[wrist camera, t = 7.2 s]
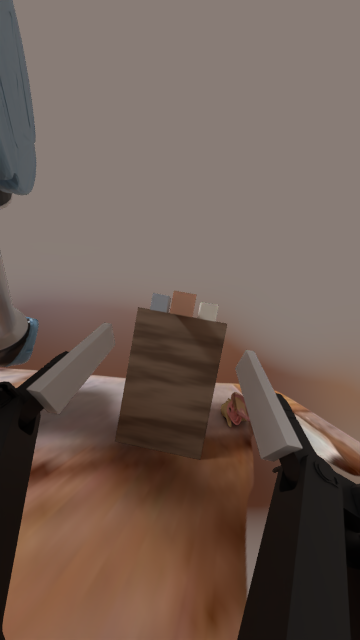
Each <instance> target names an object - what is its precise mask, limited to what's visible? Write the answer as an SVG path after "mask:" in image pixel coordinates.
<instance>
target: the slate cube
mask: <svg viewBox="0 0 360 640" xmlns="http://www.w3.org/2000/svg"><path fill="white" fill-rule="evenodd" d="M170 301H171V298H170V297H169V296H165V295H160V294H155V293H153V297H152V302H151V308H150V310H156V311H161V312H166V313H168V312H169V306H170Z"/></svg>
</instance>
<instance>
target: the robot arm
mask: <svg viewBox="0 0 360 640" xmlns="http://www.w3.org/2000/svg"><path fill="white" fill-rule="evenodd" d="M34 143H35V126H34V116H33V107H32V99H31V93H30V85H29V79H28V73H27V67H26V61H25V56H24V51H23V45H22V40H21V36H20V32H19V26H18V22H17V17H16V13H15V9H14V5H13V1H12V0H0V210H1V209H3V208H5V207H7V206H8V205H9V204H10V203H11V200H12V193H14V194H17V195H27V194H29V193H30V192H31V190H32V188H33V186H34V181H35V175H36V154H35V147H34ZM38 325H39V323H38V320H37V319H33V318H30V317H25V315H24V314H23V313H22V312H20V311H19V310H18V309H16V308H14V307H13V304H12V300H11V296H10V291H9V287H8V282H7V278H6V274H5V269H4V265H3V260H2V256H1V252H0V367H8V366H11V365H19V364H23V363H25V362H27V361H28V360H29V359H30V357H31V354H32V351H33V346H34V344H35V340H36V336H37V331H38ZM114 346H115V340H114V334H113V329H112V324H109V323H103V324H102V325H101V326H99V327H98V328H97V329H96V330H95V331H94V332H92V333H91V334H90V335H89V336H88V337H87V338H85V339H84V340H83V341H82V342H81V343H80V344H78V345H77V346H76V347H75V348H74V349H73V350H72V351H70V352H67V351H65V352H63V353H62V354H59V355H58V356H56V357H55V358H54V359H52V360H51V361H50V363H47V364H46V365H45V366H44V367H43V368H41V369H40V370H39V371H38V372H36V373H35V374H34V375H33V376H31V377H30V378H29V379H28V380H26V381H25V382H24V383H23V384H21V385H20V386H19V387H18V388H15V387H14V386H13V385H12V384H11V383H10V382H0V640H5V637H4V635H3V632H2V624H3V616H4V611H5V606H6V600H7V595H8V589H9V584H10V579H11V573H12V568H13V562H14V557H15V552H16V546H17V541H18V535H19V530H20V525H21V519H22V514H23V508H24V503H25V497H26V492H27V487H28V481H29V476H30V470H31V465H32V460H33V454H34V449H35V443H36V438H37V433H38V427H39V422H40V416H41V415H40V411H41V410H42V409H43V408H44V409H45V410H46V411H47V412H50V413H55V414H60V413H61V411H62V410H63V409H64V408H65V406H66V405H67V404H68V403H69V401H70V400H71V399H72V398H73V396H74V395H75V394H76V393H77V391H78V390H79V389H80V388H81V387H82V385H83V384H84V383H85V382H86V380H87V379H88V378H89V377H90V375H91V374H92V373H93V372H94V370H95V369H96V368H97V367H98V366H99V364H100V363H101V362H102V361H103V359H104V358H105V357H106V355H107V354H108V353H109V352H110V351H111V349H112V348H113V347H114ZM235 369H236V373H237V376H238V380H239V383H240V387H241V390H242V394H243V397H244V401H245V404H246V408H247V411H248V415H249V418H250V422H251V425H252V429H253V432H254V436H255V439H256V443H257V446H258V450H259V453H260V457H261V459H265V460H269V461H276V460H278V459H279V460H280V463H281V466H278V467H276V468H274V469H273V472H274V473H276V472H278V475H277V479H276V483H275V487H274V492H273V496H272V500H271V504H270V508H269V512H268V516H267V520H266V524H265V529H264V533H263V537H262V541H261V545H260V549H259V553H258V557H257V561H256V566H255V569H254V573H253V577H252V581H251V585H250V590H249V594H248V598H247V602H246V606H245V610H244V614H243V618H242V622H241V626H240V630H239V635H238V639H237V640H360V484H355V483H354V482H352V481H350V480H348V479H347V478H345V477H343V476H341V475H340V474H338V473H336V472H335V471H334V470H333V469H332V468H331V466H330V465H329V464H328V463H327V462H326V461H325V460H324V459H322V458H321V457H319V456H318V455H317V454H316V452H315V451H314V449H313V447H312V446H311V444H310V442H309V440H308V438H307V437H306V435H305V433H304V431H303V429H302V427H301V426H300V424H299V422H298V420H296V417H295V415H294V413H293V412H292V409H291V408H290V406H289V404H288V402H287V401H286V400H285V399H284V398H283V396H282V395H281V394H277V393H275V392H274V390H273V388H272V386H271V384H270V382H269V380H268V378H267V376H266V374H265V372H264V370H263V368H262V366H261V364H260V362H259V360H258V358H257V356H256V354H255V352H254V351H249V350H246V351H245V353H244V354H243V356H242V358H241V360H240V361H239V363H238V365H237V366H236V368H235Z"/></svg>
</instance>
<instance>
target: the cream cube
mask: <svg viewBox="0 0 360 640" xmlns="http://www.w3.org/2000/svg"><path fill="white" fill-rule="evenodd" d="M218 306H219V305H215V304H210V303H204V302H202V303H200V307H199V312H198V317H197V318H199V319H204V320H209V321H215V322H216V316H217V311H218Z"/></svg>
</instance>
